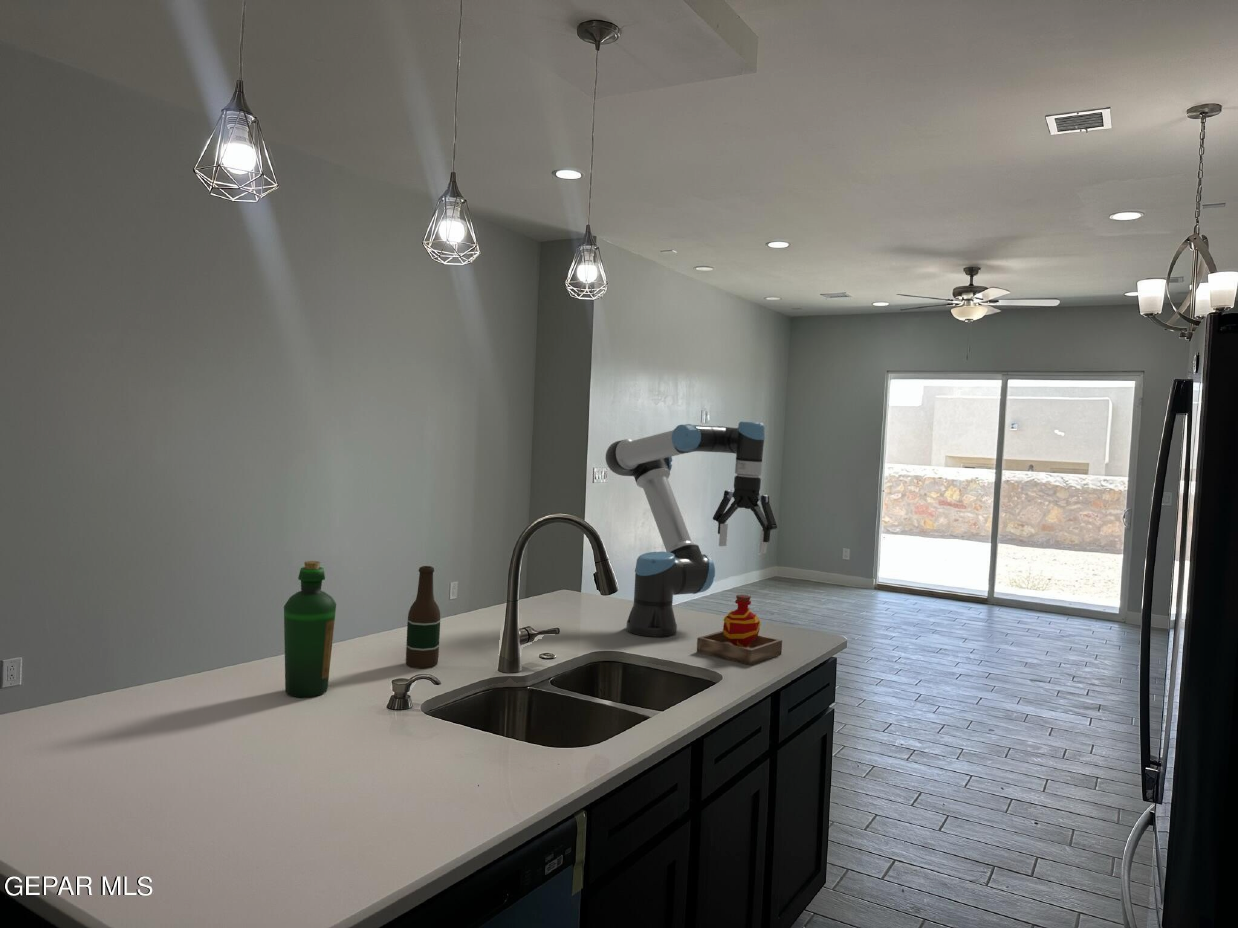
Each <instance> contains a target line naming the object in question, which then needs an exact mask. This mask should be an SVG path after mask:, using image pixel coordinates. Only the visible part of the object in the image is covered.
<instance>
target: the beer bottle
mask: <svg viewBox="0 0 1238 928" xmlns="http://www.w3.org/2000/svg"><path fill="white" fill-rule="evenodd" d="M418 572H419V576H418V584H417V594H416V596H415V597H416V598H415V600H414V601H413V603H412V604H411V606H410V608H409V610H408V614H407V625H406V626H407V627H406V628H407V629H406V646H405V647H406V648H405V664H406V665H407V666H408V667H409V668H411V669H419V670H421V669H423V670H424V669H430V668H431V669H432V668H434V667H436V666H437V665H438V663H439V653H440V636H441V635H440V633H441V631H440V630H441V611H440V607H439V605H438V604H437V602H436V600H435V596H434V595H435V594H434V572H435V568H434V567H433V566H431V565H422V566H420V567H419V569H418Z"/></svg>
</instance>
